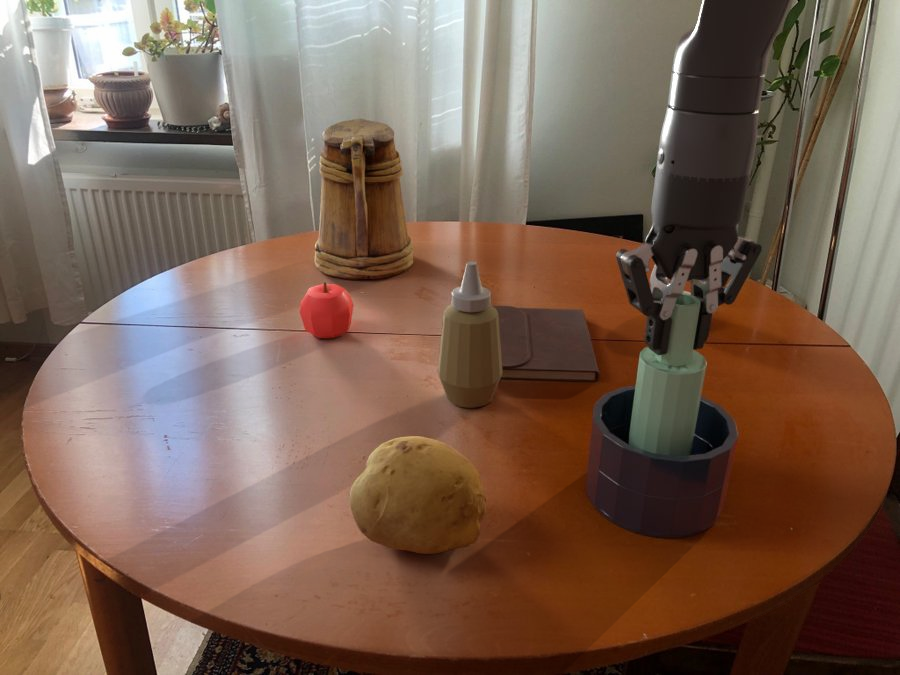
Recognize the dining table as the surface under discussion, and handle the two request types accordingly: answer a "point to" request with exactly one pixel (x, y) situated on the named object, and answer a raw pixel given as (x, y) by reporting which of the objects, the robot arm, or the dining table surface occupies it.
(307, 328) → the apple
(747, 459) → the dining table surface
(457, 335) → the squeeze bottle
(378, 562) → the dining table surface
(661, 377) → the bottle
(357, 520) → the potato
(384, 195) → the tankard
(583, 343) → the notebook
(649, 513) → the pot
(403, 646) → the dining table surface
